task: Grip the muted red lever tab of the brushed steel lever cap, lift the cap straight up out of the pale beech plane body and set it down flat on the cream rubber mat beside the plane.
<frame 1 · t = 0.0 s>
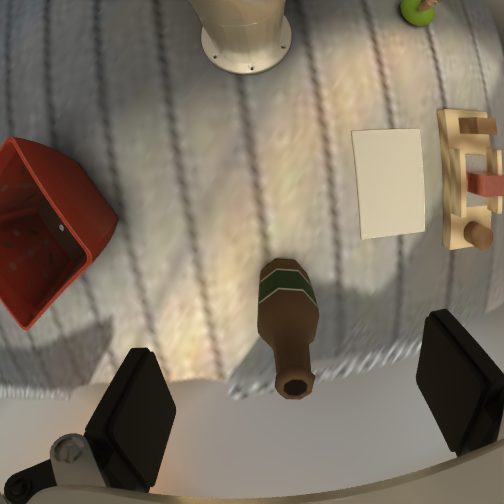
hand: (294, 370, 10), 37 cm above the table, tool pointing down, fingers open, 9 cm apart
mat: (391, 182, 43), on the table
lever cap: (472, 180, 40), point 2 cm above the table, touching plane body
snail figurine: (408, 17, 34), on the table
plant pot: (75, 211, 47), on the table
beer bottle: (282, 279, 49), on the table
plane body: (463, 177, 42), on the table
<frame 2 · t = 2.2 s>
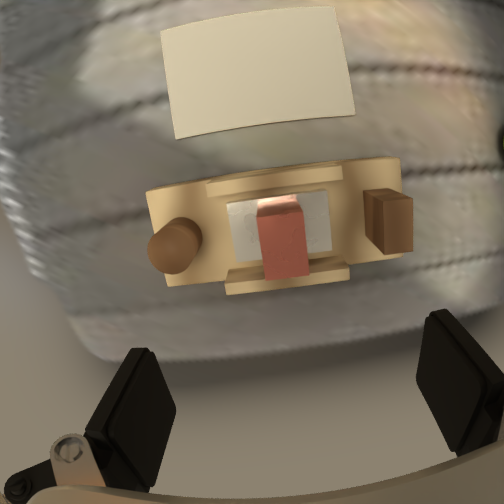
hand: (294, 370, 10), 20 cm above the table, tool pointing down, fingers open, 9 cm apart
mat: (256, 65, 24), on the table
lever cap: (280, 223, 27), point 2 cm above the table, touching plane body
plane body: (279, 216, 29), on the table
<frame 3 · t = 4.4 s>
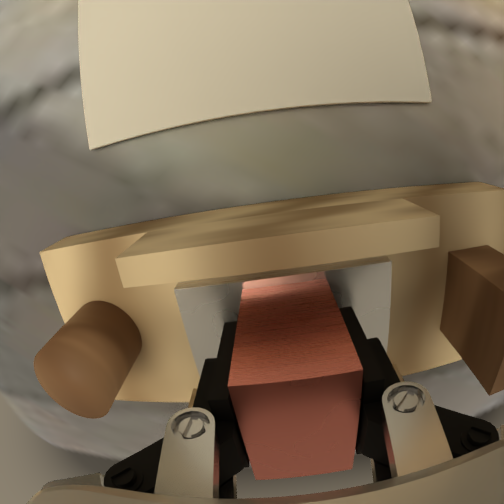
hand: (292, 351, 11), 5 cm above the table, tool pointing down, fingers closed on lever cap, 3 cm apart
mat: (241, 4, 11), on the table
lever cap: (288, 319, 13), point 3 cm above the table, touching gripper, plane body
plane body: (285, 293, 15), on the table
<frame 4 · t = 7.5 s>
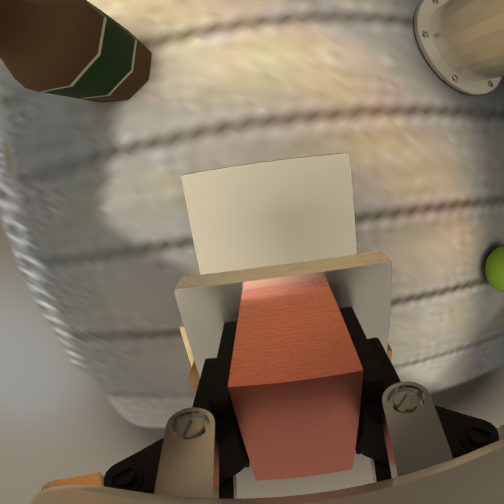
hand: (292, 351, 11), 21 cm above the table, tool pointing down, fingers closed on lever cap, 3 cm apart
mat: (272, 218, 31), on the table
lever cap: (288, 320, 13), point 19 cm above the table, touching gripper
snail figurine: (490, 258, 31), on the table
beer bottle: (120, 70, 26), on the table
plane body: (287, 339, 35), on the table
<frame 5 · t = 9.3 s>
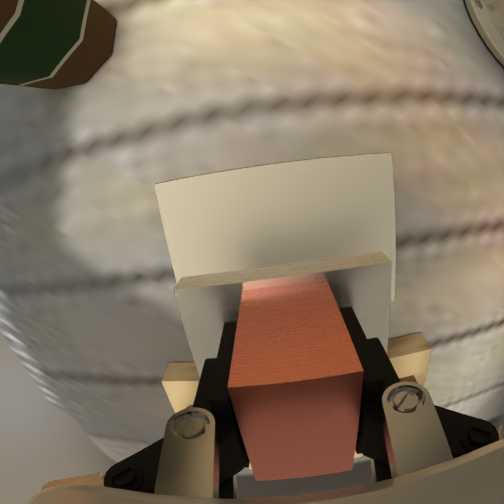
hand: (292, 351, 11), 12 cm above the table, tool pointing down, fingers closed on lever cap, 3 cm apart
mat: (283, 243, 22), on the table
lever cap: (288, 320, 13), point 10 cm above the table, touching gripper
beer bottle: (78, 45, 18), on the table
plane body: (299, 391, 26), on the table
when the fingers open (5 cm above the table, at t = 10.9 s): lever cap drops 3 cm, resting on mat.
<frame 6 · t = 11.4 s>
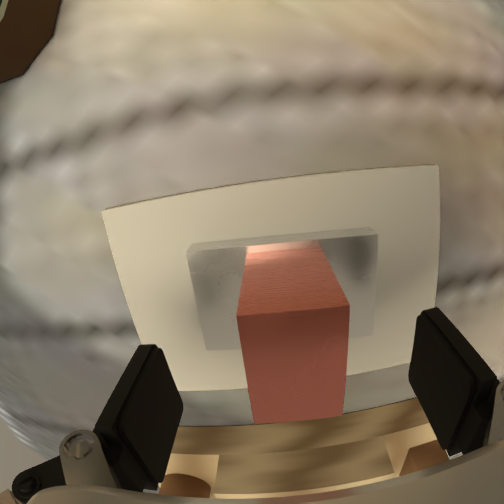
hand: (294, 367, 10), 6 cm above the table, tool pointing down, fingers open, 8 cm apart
mat: (285, 293, 15), on the table
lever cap: (285, 286, 15), resting on mat
beer bottle: (18, 30, 11), on the table
plane body: (302, 456, 20), on the table
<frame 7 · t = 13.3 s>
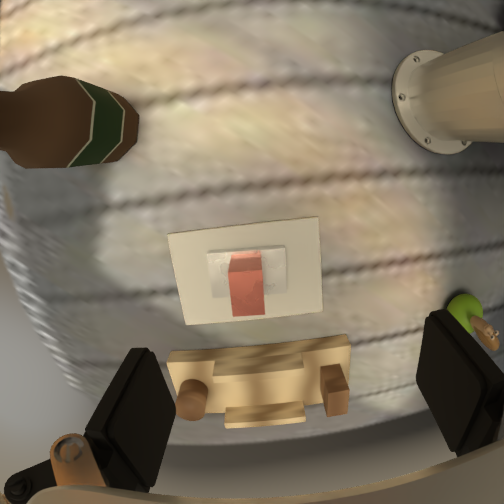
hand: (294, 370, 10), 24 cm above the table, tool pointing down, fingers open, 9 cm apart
mat: (248, 273, 35), on the table
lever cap: (247, 270, 34), resting on mat
snail figurine: (452, 302, 37), on the table
beer bottle: (110, 129, 30), on the table
plane body: (261, 373, 39), on the table
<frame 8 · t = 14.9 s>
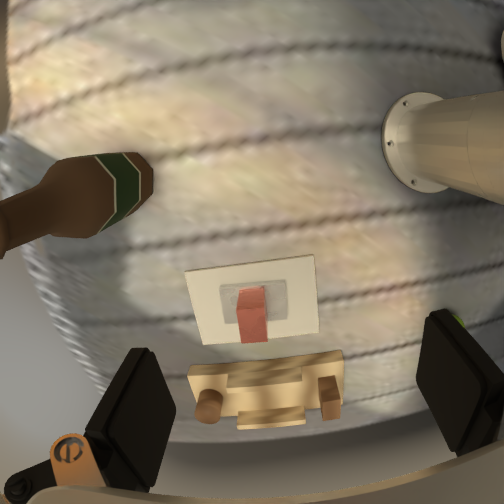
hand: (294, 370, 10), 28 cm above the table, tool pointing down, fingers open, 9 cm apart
mat: (254, 302, 41), on the table
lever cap: (254, 300, 40), resting on mat
beer bottle: (128, 180, 36), on the table
plane body: (268, 382, 45), on the table
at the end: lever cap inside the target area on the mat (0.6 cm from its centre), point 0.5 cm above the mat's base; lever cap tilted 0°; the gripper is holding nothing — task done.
